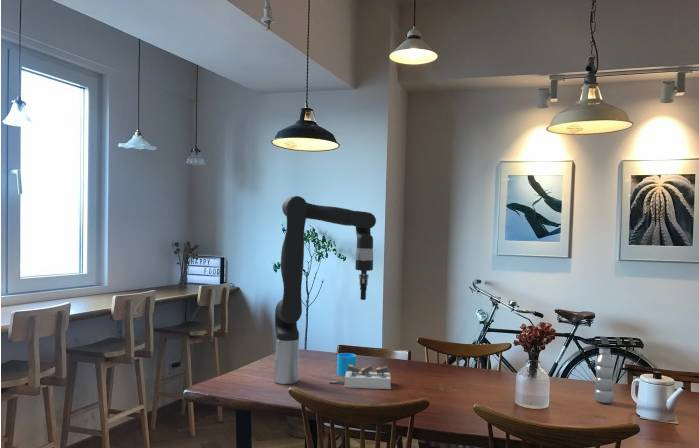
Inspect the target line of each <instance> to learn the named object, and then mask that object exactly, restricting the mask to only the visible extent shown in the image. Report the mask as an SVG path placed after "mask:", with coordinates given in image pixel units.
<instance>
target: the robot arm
mask: <svg viewBox="0 0 699 448" xmlns="http://www.w3.org/2000/svg"><path fill="white" fill-rule="evenodd" d="M281 207H282V208H281V209H282V213H283V215H284V216H285V217H286V230H285V235H284V239H283V242H282V243H283V244H282V248H281V252H280V254H281V255H280V273H281V279H282V284H283V296H282V299H281V300H279V301H278V302H277V304H276V306H275V308H274V309H275V311H274V312H275V313H274V323H275V324H274V331H275V335H276V336H275V337H276V338H275V340H276V343H275V358H274V367H273V368H274V370H273V371H274V372H273V373H274V374H273V376H274V377H273V383H274V384H275V383H276V384H281V385H290V384H296V383H298V382H299V354H300V353H299V350H300V348H299V347H300V346H299V345H300V332H299V329H298V323H297V322H299V320H300V319H301V316H302V312H303V305H302V300H303V299H302V284H303V283H302V282H303V272H304V260H305V259H304V258H305V226H306V219H307V220H314V221H315V220H317V221H321V222H326V223H331V224H335V225H340V226H347V227H349V226H351V227H355V233H356V250H355V267H354V268H355V271H360V272H361V273H360V274H359V275H358V279H359V286H360V287H359V290H360V300H361V301H366V299H367V291H368V289H367V288H368V283H369V274H368V273H367V272H369V271H371V272H372V271H373V270H374V238H373V236H372V233H371V229H372V228H374V227H375V226H376V223H377V218H376V216H375V215H374V214H373V213H371V212H367V211H361V210H353V209H348V208H343V207H337V206H330V205H329V206H328V205H319V204H314V203H309V202H307V201H306V199H304V197H302V196H299V195H294V196H291V197H289V198H287V199H285V201H283V203H282V206H281Z"/></svg>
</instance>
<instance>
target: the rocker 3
mask: <svg viewBox="0 0 699 448" xmlns="http://www.w3.org/2000/svg"><path fill="white" fill-rule="evenodd" d="M375 372H377V374H380V373H389V367H388V365H385V366H380V367H376V371H375Z"/></svg>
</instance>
